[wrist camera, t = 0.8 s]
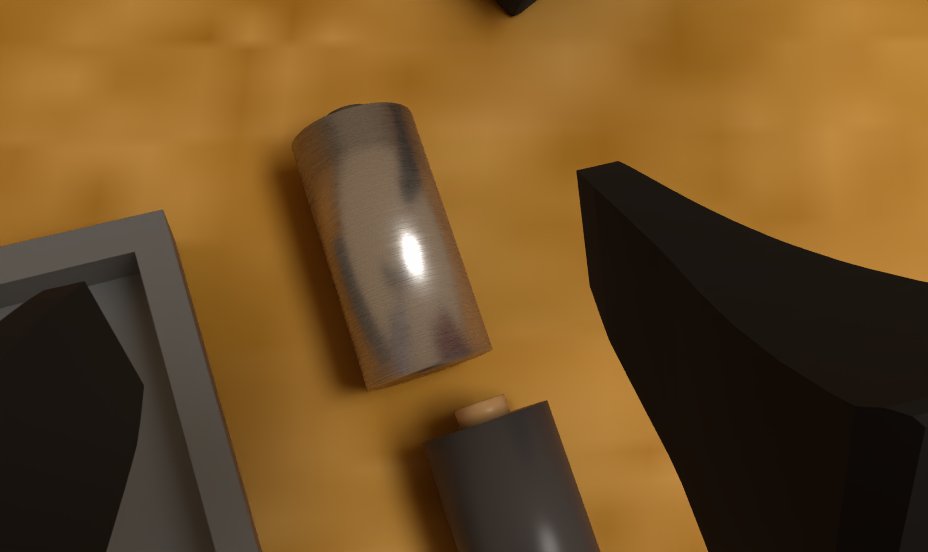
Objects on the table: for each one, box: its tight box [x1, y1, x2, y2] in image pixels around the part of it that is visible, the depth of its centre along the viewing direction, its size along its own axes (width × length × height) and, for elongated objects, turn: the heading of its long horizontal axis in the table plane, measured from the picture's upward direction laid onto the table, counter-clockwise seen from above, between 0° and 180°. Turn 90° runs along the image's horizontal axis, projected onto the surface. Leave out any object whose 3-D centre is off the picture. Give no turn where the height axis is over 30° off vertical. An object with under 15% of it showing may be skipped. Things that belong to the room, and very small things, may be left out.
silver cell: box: [292, 103, 492, 391], centre depth 25 cm, size 9×4×4 cm, turn 19°
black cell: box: [423, 394, 600, 552], centre depth 23 cm, size 9×4×4 cm, turn 19°
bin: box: [0, 210, 262, 552], centre depth 21 cm, size 13×10×3 cm
